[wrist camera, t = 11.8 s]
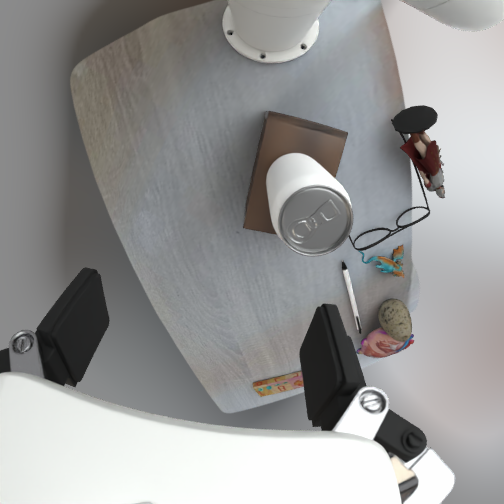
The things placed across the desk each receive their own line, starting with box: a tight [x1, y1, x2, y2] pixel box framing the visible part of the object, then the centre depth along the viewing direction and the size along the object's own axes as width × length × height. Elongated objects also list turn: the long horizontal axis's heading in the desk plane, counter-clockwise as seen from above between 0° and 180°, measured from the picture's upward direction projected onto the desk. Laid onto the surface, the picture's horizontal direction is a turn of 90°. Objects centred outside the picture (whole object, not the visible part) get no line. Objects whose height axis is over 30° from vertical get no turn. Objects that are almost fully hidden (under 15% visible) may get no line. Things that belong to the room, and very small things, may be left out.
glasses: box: [348, 119, 430, 251], centre depth 36 cm, size 14×15×5 cm
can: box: [266, 153, 353, 256], centre depth 25 cm, size 6×6×12 cm
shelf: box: [243, 111, 348, 235], centre depth 33 cm, size 9×14×8 cm, turn 168°
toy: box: [253, 371, 304, 397], centre depth 60 cm, size 12×2×5 cm
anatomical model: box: [357, 328, 414, 358], centre depth 51 cm, size 11×6×15 cm
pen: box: [342, 260, 361, 334], centre depth 48 cm, size 1×19×1 cm, turn 23°
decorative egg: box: [378, 299, 412, 342], centre depth 44 cm, size 6×6×10 cm
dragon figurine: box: [359, 245, 404, 278], centre depth 43 cm, size 6×7×8 cm
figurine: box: [392, 106, 445, 198], centre depth 31 cm, size 7×7×15 cm
